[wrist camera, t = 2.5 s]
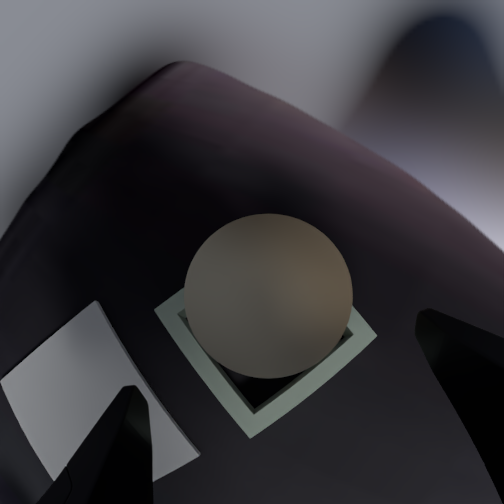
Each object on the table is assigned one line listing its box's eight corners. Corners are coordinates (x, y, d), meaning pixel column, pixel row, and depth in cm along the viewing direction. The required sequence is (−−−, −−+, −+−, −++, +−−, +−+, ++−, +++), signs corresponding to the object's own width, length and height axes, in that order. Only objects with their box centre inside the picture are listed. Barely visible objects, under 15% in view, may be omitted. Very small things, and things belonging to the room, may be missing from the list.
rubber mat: (81, 512, 14) (78, 514, 13) (3, 381, 17) (0, 381, 17) (201, 453, 16) (199, 455, 15) (98, 301, 19) (95, 300, 19)
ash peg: (258, 380, 17) (253, 412, 7) (213, 322, 19) (153, 276, 8) (317, 334, 18) (384, 303, 8) (271, 278, 20) (280, 186, 9)
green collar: (251, 430, 16) (250, 438, 15) (164, 314, 19) (153, 309, 17) (366, 338, 18) (377, 335, 16) (276, 231, 21) (277, 218, 19)
